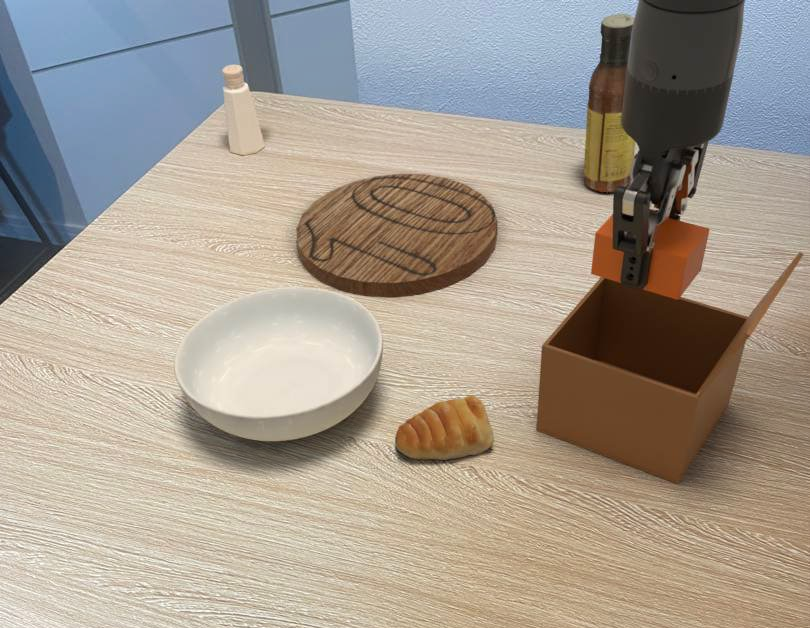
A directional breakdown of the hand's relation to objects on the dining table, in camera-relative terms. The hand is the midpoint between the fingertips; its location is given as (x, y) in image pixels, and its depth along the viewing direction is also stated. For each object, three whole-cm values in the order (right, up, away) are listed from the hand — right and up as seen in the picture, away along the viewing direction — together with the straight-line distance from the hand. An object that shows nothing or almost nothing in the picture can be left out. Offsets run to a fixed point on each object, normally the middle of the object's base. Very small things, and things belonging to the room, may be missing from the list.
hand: (647, 268), depth 79 cm
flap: (+8, -5, -2) cm, 10 cm away
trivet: (-22, +14, +36) cm, 45 cm away
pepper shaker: (-44, +34, +54) cm, 78 cm away
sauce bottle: (+6, +23, +42) cm, 48 cm away
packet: (0, 0, 0) cm, 0 cm away
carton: (+2, -11, +12) cm, 17 cm away
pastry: (-16, -14, +12) cm, 24 cm away
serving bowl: (-33, -9, +17) cm, 38 cm away
